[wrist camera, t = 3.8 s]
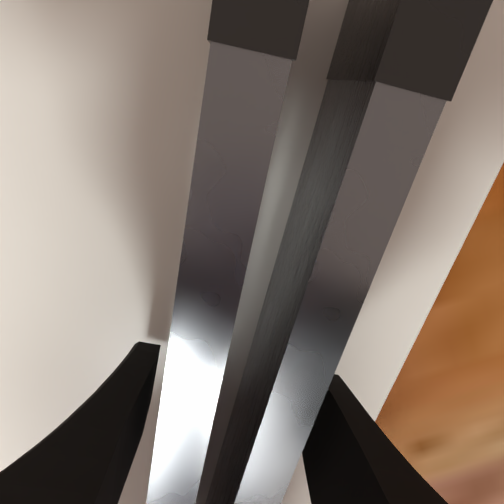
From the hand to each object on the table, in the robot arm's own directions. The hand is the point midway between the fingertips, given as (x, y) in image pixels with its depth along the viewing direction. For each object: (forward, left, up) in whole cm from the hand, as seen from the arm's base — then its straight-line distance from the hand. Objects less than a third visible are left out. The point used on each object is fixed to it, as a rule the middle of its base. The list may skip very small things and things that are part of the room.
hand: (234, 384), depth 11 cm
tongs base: (0, 0, -1) cm, 1 cm away
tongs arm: (+1, +1, -1) cm, 2 cm away
